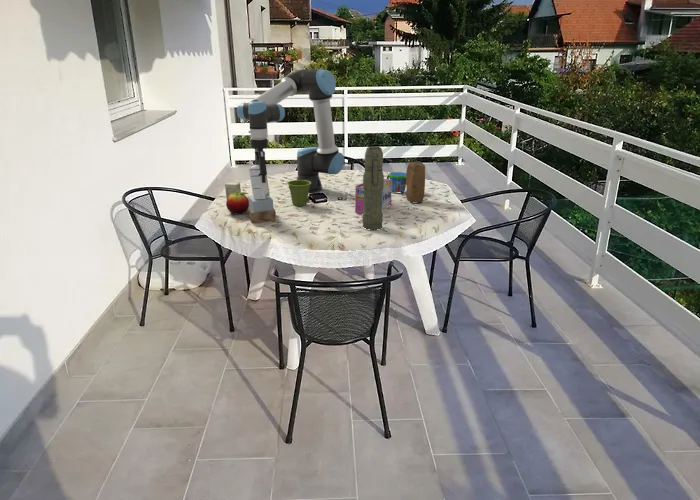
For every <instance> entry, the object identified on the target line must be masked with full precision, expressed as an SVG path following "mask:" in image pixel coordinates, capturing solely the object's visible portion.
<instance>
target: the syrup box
mask: <svg viewBox="0 0 700 500" xmlns="http://www.w3.org/2000/svg"><path fill="white" fill-rule="evenodd" d="M248 172H249V177H250V184H251V191H252V196H253V198H254V199H266V198H267V197H268V196H269V197H271V196H270V189H269V183H268V182H269V181H268V180H267V190H261V187H260V176H259V173H260V169H259V165H255V164H254V165H252V166H251V167H249V168H248ZM266 178H267V179H268V176H267V175H266Z"/></svg>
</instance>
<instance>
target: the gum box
mask: <svg viewBox="0 0 700 500" xmlns="http://www.w3.org/2000/svg"><path fill="white" fill-rule="evenodd" d="M391 183H392V179H390V178H389V180H388V179H387V178H384V188H383V190H382V209H383V208H384V209H386V208H385V207H387V206H389V205H391V206H392V192H391V188H392V186H391ZM354 192H355V196H354V197H355V203H354V204H355V205H354V208H355V209H354V213H358V214H357V215H360V214H363V210H364V189H363V183H360V184H357V185H355V191H354ZM389 207H390V206H389ZM387 208H388V207H387ZM384 209H383V210H384Z"/></svg>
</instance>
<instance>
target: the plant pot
mask: <svg viewBox="0 0 700 500" xmlns="http://www.w3.org/2000/svg"><path fill="white" fill-rule="evenodd" d="M286 184H287V185H288V190H289V193H290V198H291V203H292V205H293V206H296V207H299V206H300V207H305V206H306V205H308V198H309V193H308V192H309V188H310V184H311V182H310V181H307V180H297V179H295V180H288V181H287V183H286Z"/></svg>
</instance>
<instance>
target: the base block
mask: <svg viewBox="0 0 700 500" xmlns="http://www.w3.org/2000/svg"><path fill="white" fill-rule="evenodd" d="M247 212H248V218H249V221H250V223H251V224H256V223H269V221H270V222H276V221H277V217H276V216H277V214H276V210H275V208H274V207H273V210H272V211H263V212H253V211H252V210H251V209H250V208H249V207H248V210H247Z"/></svg>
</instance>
